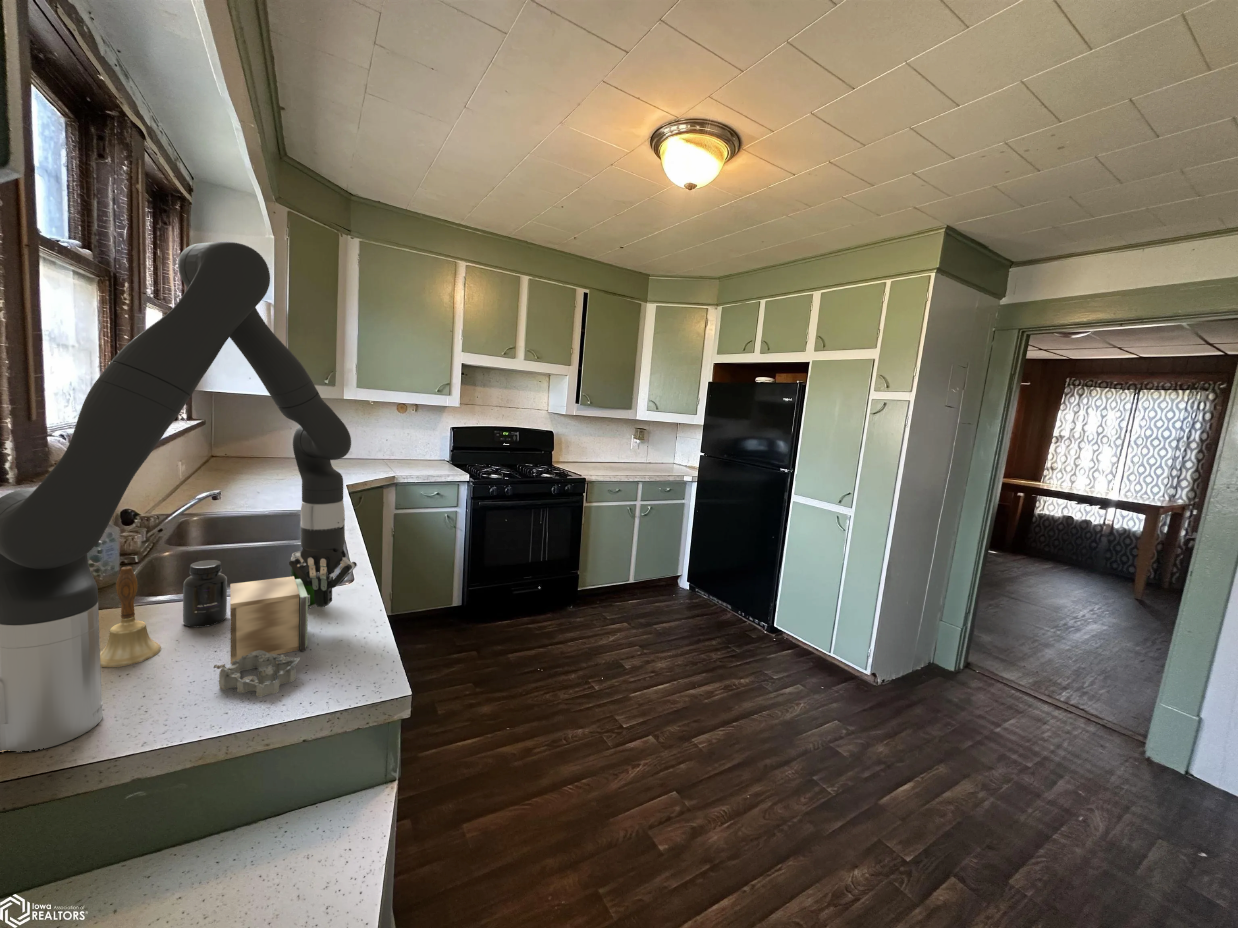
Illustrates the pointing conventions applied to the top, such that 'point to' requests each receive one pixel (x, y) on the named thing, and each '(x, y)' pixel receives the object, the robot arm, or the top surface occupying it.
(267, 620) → the cupboard
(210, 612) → the supplement bottle
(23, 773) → the top surface
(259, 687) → the egg carton
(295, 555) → the beer can
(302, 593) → the door
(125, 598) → the hand bell
